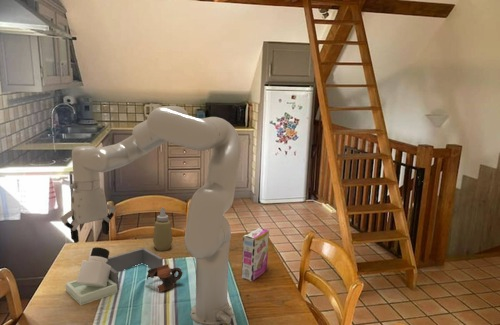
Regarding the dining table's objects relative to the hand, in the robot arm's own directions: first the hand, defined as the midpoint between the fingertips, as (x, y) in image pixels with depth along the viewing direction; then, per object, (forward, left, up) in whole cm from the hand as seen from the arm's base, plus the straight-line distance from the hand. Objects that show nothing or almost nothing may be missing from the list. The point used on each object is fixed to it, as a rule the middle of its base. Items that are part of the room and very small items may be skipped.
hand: (91, 237), depth 127 cm
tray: (+1, 0, -19) cm, 19 cm away
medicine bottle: (-1, +1, -16) cm, 16 cm away
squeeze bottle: (+17, -37, -19) cm, 45 cm away
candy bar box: (-26, -49, -19) cm, 59 cm away
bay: (+3, -15, -19) cm, 24 cm away
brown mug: (-13, -20, -20) cm, 32 cm away
